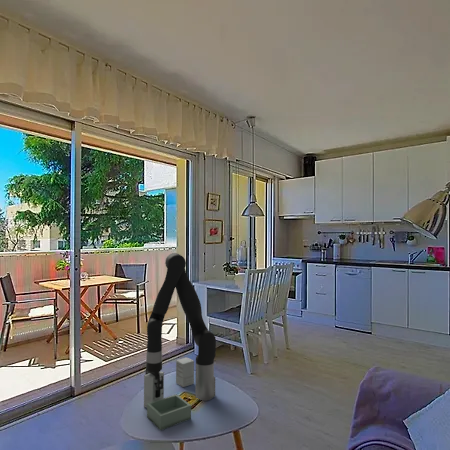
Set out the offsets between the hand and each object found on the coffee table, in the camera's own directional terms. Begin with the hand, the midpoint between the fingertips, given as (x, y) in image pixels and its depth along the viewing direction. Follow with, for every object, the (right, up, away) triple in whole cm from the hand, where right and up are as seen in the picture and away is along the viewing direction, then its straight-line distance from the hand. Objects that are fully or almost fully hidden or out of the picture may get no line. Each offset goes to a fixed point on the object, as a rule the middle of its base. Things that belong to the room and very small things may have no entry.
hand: (153, 393), depth 166 cm
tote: (+9, -5, -12) cm, 16 cm away
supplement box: (+12, -6, +23) cm, 27 cm away
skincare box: (0, -5, 0) cm, 5 cm away
